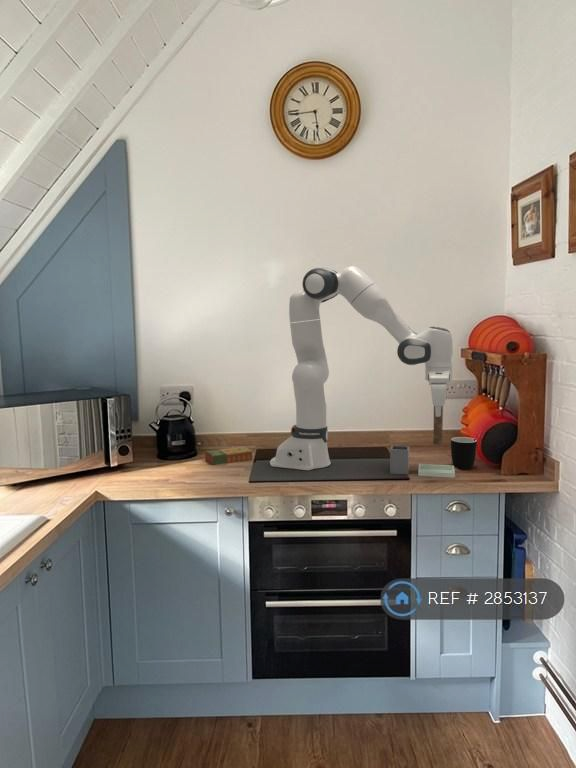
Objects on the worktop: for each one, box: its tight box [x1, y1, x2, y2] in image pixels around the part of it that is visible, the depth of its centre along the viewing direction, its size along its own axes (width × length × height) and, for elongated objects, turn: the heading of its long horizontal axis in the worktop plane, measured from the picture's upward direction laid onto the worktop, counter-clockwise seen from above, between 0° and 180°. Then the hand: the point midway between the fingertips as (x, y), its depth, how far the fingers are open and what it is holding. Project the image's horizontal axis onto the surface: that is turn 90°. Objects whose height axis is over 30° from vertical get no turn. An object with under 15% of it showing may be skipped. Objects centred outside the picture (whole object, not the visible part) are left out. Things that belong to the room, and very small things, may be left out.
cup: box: [389, 445, 410, 475], centre depth 209 cm, size 6×6×9 cm
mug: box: [450, 436, 478, 470], centre depth 218 cm, size 12×9×10 cm
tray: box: [417, 463, 456, 479], centre depth 208 cm, size 12×10×2 cm
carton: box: [204, 446, 253, 466], centre depth 229 cm, size 8×16×4 cm, turn 116°
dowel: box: [432, 406, 444, 446], centre depth 205 cm, size 3×3×14 cm
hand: (437, 415), depth 205 cm, fingers closed on dowel, 3 cm apart
